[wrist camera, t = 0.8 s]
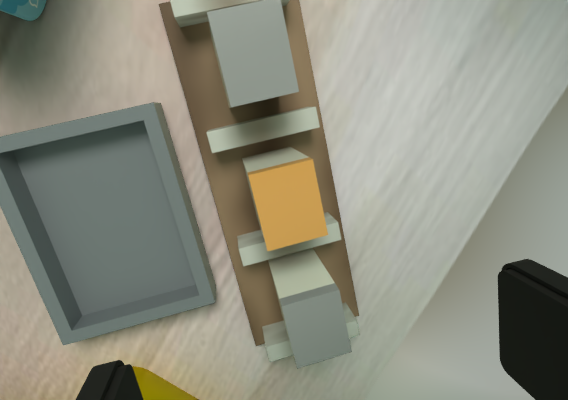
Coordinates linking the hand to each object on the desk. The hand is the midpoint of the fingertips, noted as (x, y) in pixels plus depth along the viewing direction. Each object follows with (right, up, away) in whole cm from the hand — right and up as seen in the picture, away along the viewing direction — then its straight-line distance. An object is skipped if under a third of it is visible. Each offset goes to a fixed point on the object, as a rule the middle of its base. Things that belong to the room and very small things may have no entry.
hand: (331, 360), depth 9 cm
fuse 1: (-4, +14, +19) cm, 24 cm away
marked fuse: (-2, +5, +21) cm, 22 cm away
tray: (-15, +2, +21) cm, 26 cm away
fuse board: (-2, +6, +22) cm, 23 cm away
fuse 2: (0, -3, +24) cm, 24 cm away
